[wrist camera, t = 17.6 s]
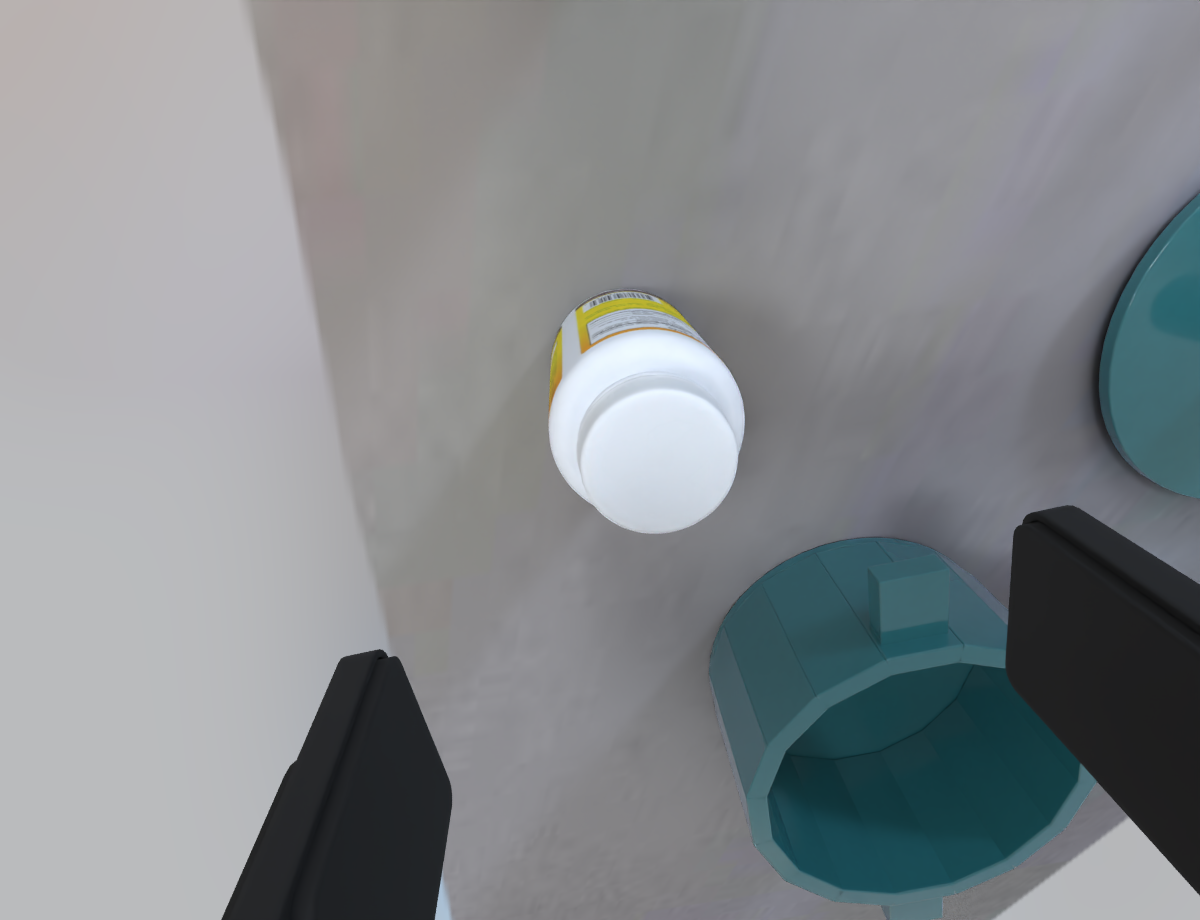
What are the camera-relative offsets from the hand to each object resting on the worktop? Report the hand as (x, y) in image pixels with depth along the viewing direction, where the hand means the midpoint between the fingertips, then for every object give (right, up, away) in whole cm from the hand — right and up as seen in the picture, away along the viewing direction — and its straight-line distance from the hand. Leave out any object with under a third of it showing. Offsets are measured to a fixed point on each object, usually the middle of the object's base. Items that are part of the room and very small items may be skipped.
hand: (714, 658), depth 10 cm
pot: (+10, -7, +22) cm, 25 cm away
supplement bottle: (-1, +7, +16) cm, 17 cm away
